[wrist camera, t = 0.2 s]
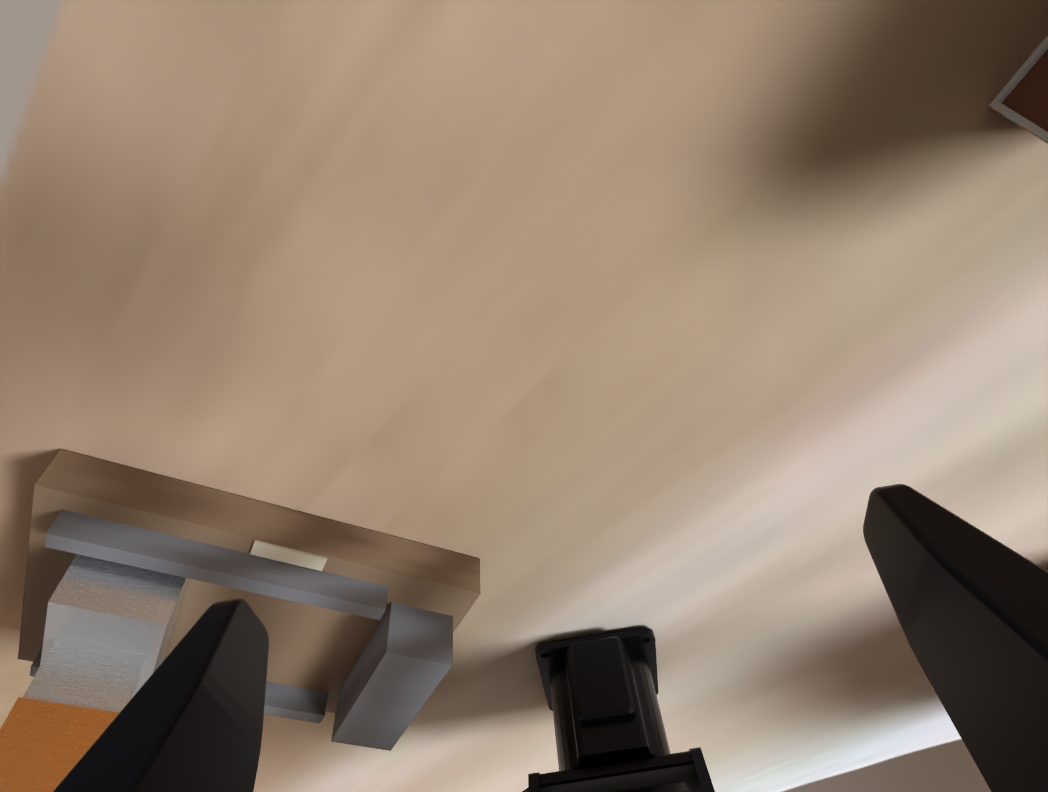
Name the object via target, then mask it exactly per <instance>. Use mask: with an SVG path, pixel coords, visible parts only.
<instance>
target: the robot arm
mask: <svg viewBox="0 0 1048 792" xmlns="http://www.w3.org/2000/svg"><path fill="white" fill-rule="evenodd" d="M863 533H864V538H865V542H866V545H867V547H868V549H869V552H870V554H871V556H872V559H873V561H874V563H875V566H876V568H877V571H878V573H879V575H880V578H881V580H882V582H883V585H884V587H885V589H886V592H887V594H888V596H889V599H890V601H891V603H892V606H893V608H894V611H895V613H896V615H897V618H898V620H899V622H900V625H901V627H902V629H903V631H904V634H905V636H906V638H907V640H908V642H909V645H910V646H911V648H912V650H913V652H914V654H915V656H916V658H917V660H918V662H919V663H920V665H921V667H922V669H923V670H924V672H925V674H926V676H927V678H928V679H929V681H930V683H931V685H932V686H933V688H934V690H935V692H936V694H937V695H938V697H939V699H940V701H941V702H942V704H943V706H944V708H945V710H946V711H947V713H948V715H949V717H950V718H951V720H952V722H953V724H954V726H955V727H956V729H957V731H958V733H959V735H960V736H961V738H962V740H963V742H964V743H965V745H966V747H967V749H968V750H969V752H970V754H971V756H972V757H973V759H974V761H975V763H976V765H977V767H978V768H979V770H980V772H981V774H982V775H983V777H984V779H985V781H986V783H987V784H988V786H989V788H990V790H991V791H992V792H1048V572H1047V571H1046V570H1044V569H1042V568H1041V567H1039V566H1038V565H1036V564H1034V563H1033V562H1031V561H1030V560H1028V559H1026V558H1025V557H1023V556H1021V555H1020V554H1018V553H1017V552H1015V551H1013V550H1012V549H1010V548H1008V547H1007V546H1005V545H1004V544H1002V543H1000V542H999V541H997V540H995V539H994V538H992V537H991V536H989V535H987V534H986V533H984V532H982V531H981V530H979V529H978V528H976V527H974V526H973V525H971V524H969V523H968V522H966V521H965V520H963V519H961V518H960V517H958V516H956V515H955V514H953V513H952V512H950V511H948V510H947V509H945V508H943V507H942V506H940V505H939V504H937V503H935V502H934V501H932V500H930V499H929V498H927V497H926V496H924V495H922V494H921V493H919V492H917V491H916V490H914V489H913V488H911V487H909V486H906V485H903V484H896V485H890V486H884V487H878V488H875V489H874V490H873V491H872V492H871V493H870V496H869V501H868V506H867V511H866V515H865V520H864V525H863ZM535 652H536V659H537V663H538V667H539V671H540V674H541V678H542V682H543V686H544V690H545V694H546V698H547V702H548V705H549V709H550V710H552V711H553V717H554V726H555V735H556V745H557V754H558V763H559V771H558V772H552V773H545V774H540V773H532V774H529V776H528V777H529V787H528V788H527V789H525V790H524V791H523V792H715V791H714V788H713V785H712V782H711V779H710V776H709V773H708V770H707V767H706V763H705V760H704V757H703V754H702V751H701V748H700V747H699V748H693V749H689V751H687V752H680V753H674V754H670V750H669V746H668V742H667V738H666V734H665V729H664V725H663V721H662V717H661V713H660V709H659V704H658V700H657V696H656V695H657V694H658V680H657V664H656V648H655V637H654V633H653V630H651V629H649V628H642V629H635V630H628V631H622V632H615V633H609V634H602V635H596V636H589V637H583V638H576V639H570V640H563V641H557V642H550V643H543V644H540V645H538V646H537V647H536V648H535ZM268 653H269V636H268V632H267V629H266V627H265V626H264V624H263V623H262V622H261V620H260V619H259V618H258V616H257V615H256V613H255V612H254V611H253V609H252V608H251V606H250V605H249V604H248V602H247V601H246V600H244V599H242V598H234V599H229V600H223V601H218V602H215V603H213V604H212V605H211V606H210V607H209V608H208V609H207V610H206V611H205V612H204V613H203V615H202V616H201V617H200V618H199V619H198V621H197V622H196V623H195V624H194V625H193V627H192V628H191V629H190V630H189V631H188V632H187V634H186V635H185V636H184V637H183V638H182V640H181V641H180V642H179V643H178V644H177V645H176V647H175V648H174V649H173V650H172V651H171V653H170V654H169V655H168V656H167V657H166V658H165V660H164V661H163V662H162V663H161V664H160V666H159V667H158V668H157V669H156V670H155V671H154V673H153V674H152V675H151V676H150V677H149V679H148V680H147V681H146V682H145V683H144V684H143V686H142V687H141V688H140V689H139V690H138V692H137V693H136V694H135V695H134V696H133V698H132V699H131V700H130V701H129V702H128V703H127V705H126V706H125V707H124V708H123V709H122V711H121V712H120V713H119V714H118V715H117V716H116V718H115V719H114V720H113V721H112V722H111V724H110V725H109V726H108V727H107V728H106V729H105V731H104V732H103V733H102V734H101V735H100V737H99V738H98V739H97V740H96V741H95V742H94V744H93V745H92V746H91V747H90V748H89V750H88V751H87V752H86V753H85V754H84V755H83V757H82V758H81V759H80V760H79V761H78V763H77V764H76V765H75V766H74V767H73V769H72V770H71V771H70V772H69V773H68V774H67V776H66V777H65V778H64V779H63V780H62V782H61V783H60V784H59V785H58V786H57V787H56V789H55V790H54V791H53V792H253V789H254V784H255V778H256V773H257V767H258V761H259V755H260V749H261V740H262V730H263V717H264V705H265V692H266V679H267V666H268Z"/></svg>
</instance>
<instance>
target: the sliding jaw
mask: <svg viewBox="0 0 1048 792" xmlns="http://www.w3.org/2000/svg"><path fill="white" fill-rule="evenodd" d="M187 580H188V578H185V577H180V576H175V575H171V574H166V573H162V572H157V571H153V570H148V569H143V568H139V567H134V566H130V565H125V564H121V563H116V562H111V561H107V560H102V559H98V558H93V557H89V556H84V555H79V554H77V555H76V556H75V558H74V560H73V561H72V563H71V565H70V566H69V568H68V570H67V571H66V573H65V575H64V576H63V578H62V580H61V581H60V583H59V585H58V586H57V588H56V590H55V591H54V593H53V595H52V596H51V598H50V600H49V601H48V607H47V615H46V623H45V631H44V639H43V647H42V655H41V662H40V667H39V669H38V671H37V672H36V674H35V676H34V678H33V680H32V681H31V683H30V685H29V687H28V689H27V690H26V692H25V694H24V696H23V698H21V697H18V699H17V701H16V703H15V704H14V706H13V708H12V710H11V711H10V713H9V715H8V717H7V718H6V720H5V722H4V724H3V726H2V727H1V729H0V792H53V791H54V790H55V789H56V787H57V786H58V785H59V784H60V783H61V782H62V780H63V779H64V778H65V777H66V776H67V774H68V773H69V772H70V771H71V770H72V769H73V767H74V766H75V765H76V764H77V763H78V761H79V760H80V759H81V758H82V757H83V755H84V754H85V753H86V752H87V751H88V750H89V748H90V747H91V746H92V745H93V744H94V742H95V741H96V740H97V739H98V738H99V737H100V735H101V734H102V733H103V732H104V731H105V729H106V728H107V727H108V726H109V725H110V724H111V722H112V721H113V720H114V719H115V718H116V716H117V715H118V714H119V713H120V712H121V711H122V709H123V708H124V707H125V706H126V705H127V703H128V702H129V701H130V700H131V699H132V698H133V696H134V695H135V694H136V693H137V692H138V690H139V689H140V688H141V687H142V686H143V684H144V683H145V682H146V681H147V680H148V679H149V677H150V676H151V675H152V674H153V673H154V671H155V670H156V669H157V668H158V667H159V666H160V664H161V663H162V662H163V660H164V656H165V653H166V650H167V646H168V643H169V640H170V636H171V633H172V630H173V627H174V623H175V620H176V617H177V613H178V610H179V607H180V603H181V600H182V597H183V594H184V590H185V587H186V584H187Z"/></svg>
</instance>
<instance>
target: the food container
mask: <svg viewBox="0 0 1048 792" xmlns="http://www.w3.org/2000/svg"><path fill="white" fill-rule="evenodd" d="M989 107H990V108H992V109H994V110H995V111H997V112H998V113H1000V114H1001V115H1003V116H1005V117H1006V118H1008V119H1009V120H1011V121H1013V122H1014V123H1016V124H1017V125H1019V126H1021V127H1022V128H1024V129H1025V130H1027V131H1028V132H1030V133H1032V134H1033V135H1035V136H1036V137H1038V138H1040V139H1041V140H1043V141H1044V142H1046V143H1048V35H1047V36H1046V38H1045V39H1044V40H1043V41H1042V42H1041V44H1040V45H1039V46H1038V47H1037V48H1036V50H1035V51H1034V52H1033V53H1032V54H1031V56H1030V57H1029V58H1028V59H1027V60H1026V62H1025V63H1024V64H1023V65H1022V66H1021V67H1020V69H1019V70H1018V71H1017V72H1016V73H1015V75H1014V76H1013V77H1012V78H1011V79H1010V81H1009V82H1008V83H1007V84H1006V85H1005V87H1004V88H1003V89H1002V90H1001V91H1000V93H999V94H998V95H997V96H996V97H995V98H994V100H993V101H992V102H991V103H990V104H989Z"/></svg>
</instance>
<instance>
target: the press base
mask: <svg viewBox="0 0 1048 792" xmlns="http://www.w3.org/2000/svg"><path fill="white" fill-rule="evenodd" d="M77 554H79V555H84V556H89V557H93V558H98V559H102V560H107V561H111V562H116V563H121V564H125V565H130V566H134V567H139V568H143V569H148V570H153V571H157V572H162V573H166V574H171V575H175V576H180V577H185V578H188V580H187V584H186V587H185V590H184V594H183V597H182V600H181V603H180V607H179V610H178V613H177V617H176V620H175V623H174V627H173V630H172V633H171V636H170V640H169V643H168V646H167V650H166V653H165V656H164V660H165V658H166V657H167V656H168V655H169V654H170V653H171V651H172V650H173V649H174V648H175V647H176V645H177V644H178V643H179V642H180V641H181V640H182V638H183V637H184V636H185V635H186V634H187V632H188V631H189V630H190V629H191V628H192V627H193V625H194V624H195V623H196V622H197V621H198V619H199V618H200V617H201V616H202V615H203V613H204V612H205V611H206V610H207V609H208V608H209V607H210V606H211V605H212V604H213V603H215V602H218V601H223V600H229V599H234V598H242V599H244V600H246V601H247V602H248V604H249V605H250V606H251V608H252V609H253V611H254V612H255V613H256V615H257V616H258V618H259V619H260V620H261V622H262V623H263V624H264V626H265V627H266V629H267V632H268V636H269V653H268V666H267V679H266V692H265V705H264V714H267V715H273V716H279V717H285V718H291V719H297V720H303V721H309V722H316V723H320V722H321V721H322V719H323V717H324V715H325V711H328V712H334V713H336V715H335V721H334V728H333V734H332V740H331V741H332V742H338V743H345V744H351V745H358V746H364V747H371V748H377V749H383V750H390V751H391V749H392V748H393V747H394V745H395V744H396V742H397V741H398V740H399V738H400V737H401V735H402V734H403V733H404V731H405V730H406V729H407V727H408V726H409V724H410V723H411V722H412V720H413V719H414V718H415V716H416V715H417V713H418V712H419V711H420V709H421V708H422V706H423V705H424V704H425V702H426V701H427V700H428V698H429V697H430V695H431V694H432V693H433V691H434V690H435V688H436V687H437V686H438V684H439V683H440V682H441V680H442V679H443V677H444V676H445V675H446V673H447V672H448V671H449V669H450V668H451V666H452V650H453V632H454V631H455V629H456V628H457V626H458V625H459V624H460V622H461V621H462V619H463V618H464V616H465V615H466V613H467V612H468V611H469V609H470V608H471V606H472V605H473V603H474V602H475V600H476V599H477V598H478V596H479V595H480V559H479V558H475V557H471V556H467V555H464V554H460V553H456V552H452V551H448V550H444V549H441V548H437V547H433V546H429V545H425V544H421V543H418V542H414V541H410V540H406V539H402V538H399V537H395V536H391V535H387V534H383V533H379V532H376V531H372V530H368V529H364V528H360V527H357V526H353V525H349V524H345V523H341V522H337V521H334V520H330V519H326V518H322V517H318V516H315V515H311V514H307V513H303V512H299V511H295V510H292V509H288V508H284V507H280V506H276V505H273V504H269V503H265V502H261V501H257V500H253V499H250V498H246V497H242V496H238V495H234V494H231V493H227V492H223V491H219V490H215V489H211V488H208V487H204V486H200V485H196V484H192V483H188V482H185V481H181V480H177V479H173V478H169V477H166V476H162V475H158V474H154V473H150V472H146V471H143V470H139V469H135V468H131V467H127V466H124V465H120V464H116V463H112V462H108V461H104V460H101V459H97V458H93V457H89V456H85V455H82V454H78V453H74V452H70V451H66V450H62V449H61V450H60V451H59V452H58V454H57V455H56V456H55V458H54V459H53V460H52V462H51V463H50V464H49V466H48V467H47V468H46V470H45V471H44V472H43V474H42V475H41V476H40V478H39V479H38V480H37V482H36V483H35V485H34V494H33V504H32V515H31V526H30V536H29V547H28V557H27V568H26V579H25V589H24V600H23V610H22V621H21V632H20V642H19V653H18V659H21V660H27V661H33V664H32V665H31V671H30V676H35V674H36V672H37V671H38V669H39V667H40V662H41V655H42V647H43V639H44V631H45V623H46V615H47V607H48V601H49V600H50V598H51V596H52V595H53V593H54V591H55V590H56V588H57V586H58V585H59V583H60V581H61V580H62V578H63V576H64V575H65V573H66V571H67V570H68V568H69V566H70V565H71V563H72V561H73V560H74V558H75V556H76V555H77ZM164 660H163V661H164Z"/></svg>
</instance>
